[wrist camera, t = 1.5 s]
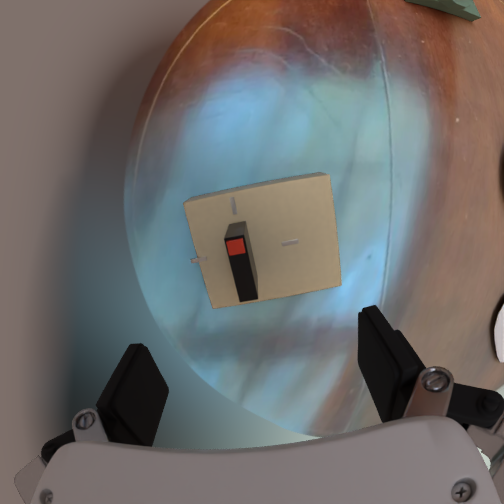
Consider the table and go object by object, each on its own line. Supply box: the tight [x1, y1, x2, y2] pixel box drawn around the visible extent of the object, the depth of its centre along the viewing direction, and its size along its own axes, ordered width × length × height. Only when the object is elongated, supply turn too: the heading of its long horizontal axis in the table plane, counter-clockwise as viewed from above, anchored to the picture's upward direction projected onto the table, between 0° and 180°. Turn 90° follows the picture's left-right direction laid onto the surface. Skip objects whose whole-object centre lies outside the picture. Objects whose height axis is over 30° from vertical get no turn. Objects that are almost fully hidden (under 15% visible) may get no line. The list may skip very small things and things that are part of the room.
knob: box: [224, 221, 258, 302], centre depth 21 cm, size 5×1×4 cm, turn 11°
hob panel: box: [183, 172, 342, 309], centre depth 24 cm, size 13×10×3 cm
